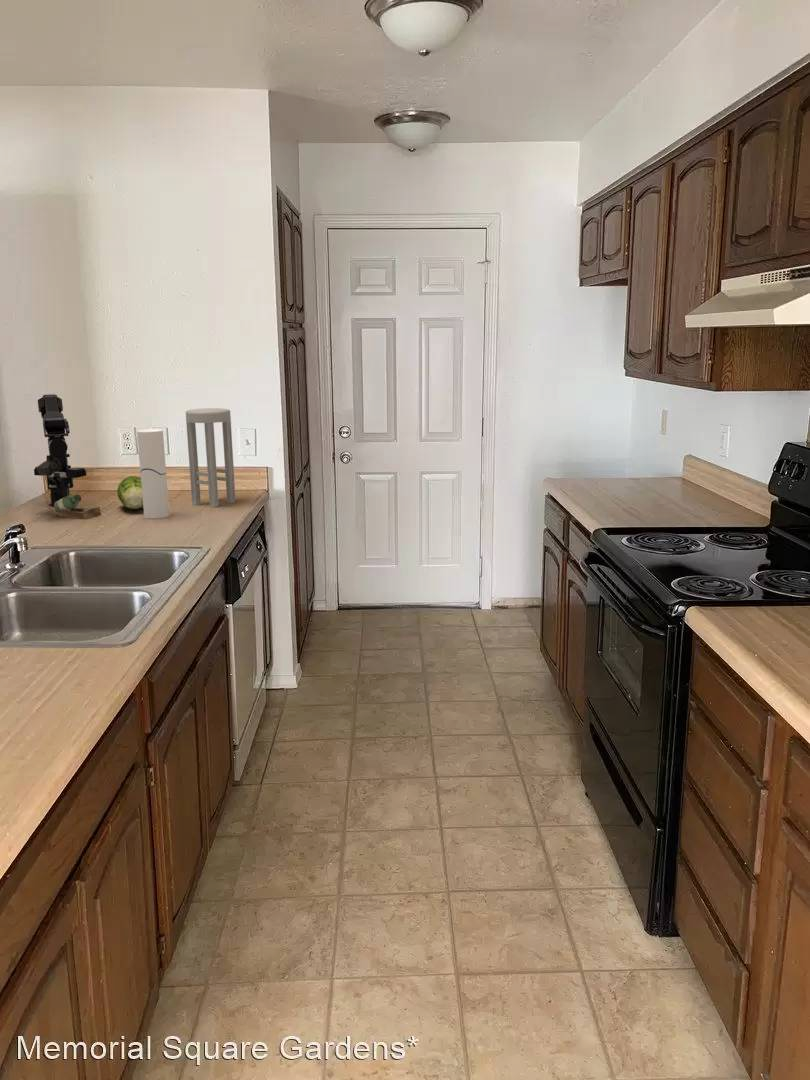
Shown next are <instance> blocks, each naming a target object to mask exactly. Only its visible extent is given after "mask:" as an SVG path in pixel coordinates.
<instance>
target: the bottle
mask: <svg viewBox="0 0 810 1080" xmlns="http://www.w3.org/2000/svg"><path fill="white" fill-rule="evenodd" d="M81 501H82V496H81V495H79V494H72V493H70V495H68V496H66V497H64V498H62V499H60V500H58V501H56V502H55V504H54V505H53V507H54V510H55V511H56V512H57V513H58V514H59V512H58V511H60V510H66V511H70V510H71V509H73V508H78V506H79V502H81Z"/></svg>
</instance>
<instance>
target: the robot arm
mask: <svg viewBox="0 0 810 1080" xmlns="http://www.w3.org/2000/svg"><path fill="white" fill-rule="evenodd" d="M63 406H64V405H63V399H62V398H61V397H59V396H58V395H57V394H55V393H54V394H49V393H48V394H43V395H42V397H41V398H39V399H37V407H38V413H40V415H41V419H42V427H43V434H44V438H47V446H48V454H47V455H46V459H45V461H43V462H42V463H40V464H39V465H37V466H35V467H34V469H33V473H34V474H33V475H34V476H41V477H43V476H45V477H46V486H47V490H48V491H50V494H49V495H50V503H48V506H54V504H55V502H56V501H58V500H60V499H62V498H64V497H66V496H68V495H70V494H71V493H70V489H72V488H74V479H77V478H81V477H82V478H83V477H86V476H87V470H86V468H84V467H76V466H75V467H72V465H71V464H70V465H69V462H68V458H70V457H71V456H70V454H69V453H67V451H68V443H67V442H66V441H67V440H66V438H65V437H69V434H70V426H69V421H68V420H67V418H64V414H63V413H62V412H63V411H64V407H63Z"/></svg>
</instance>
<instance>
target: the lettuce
mask: <svg viewBox="0 0 810 1080" xmlns="http://www.w3.org/2000/svg"><path fill="white" fill-rule="evenodd" d="M116 492H117V498H118V500H119V501H120V502H121V504H122V506H124V507H125V508H128V509H129V510H140V509H142V508H143V497H142V485H141V476H140V477H139V476H136V475H135V476H134V475H132V476H131V475H130V476H128V477H126V478H125V477H124V478H123V479H122V480H121V481H120V483H118V485H117V489H116Z"/></svg>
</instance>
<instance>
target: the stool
mask: <svg viewBox="0 0 810 1080" xmlns="http://www.w3.org/2000/svg"><path fill="white" fill-rule="evenodd" d="M231 417H232V415H231V410H230V409H228V408H221V407H219V408H217V407H216V408H214V407H213V408H212V407H211V408H210V407H209V408H194V409H188V410H185V420H186V422H185V423H186V435H187V436H186V437H187V449H188V450H187V451H188V452H187V453H188V463H189V464H188V466H189V478H190V492H191V493H190V494H191V504H192V505H193V506H194V505H195V506H198V505H202V499H201V486H200V485H206V486H207V487H208V497H209V498H208V499H209V507H210V508H217V507H220V505H219V490H218V489H219V487H218V481H223V482H225V488H226V489H225V490H226V503H227V504H233V503H234V504H235V503H236V488H235V487H236V485H235V471H234V470H235V469H234V455H233V454H234V452H233V451H234V450H233V435H232V433H233V432H232V420H231V419H232V418H231ZM214 423H221V424H222V426H221V427H222V440H223V442H222V444H223V457H224V469H223V468H217V458H216V457H217V456H216V441H215V439H216V438H215V426H214ZM196 424H204V437H205V439H204V440H205V453H206V469H207V472H205V471H204V472H203V471H199V459H198V458H199V457H198V445H197V444H198V441H197V430H196V429H197V426H196ZM217 473H220V474H221V473H222V474H224V475H225V477H224V476H223V477H221V476H218V474H217ZM200 477H207V480H203V479H200Z"/></svg>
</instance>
